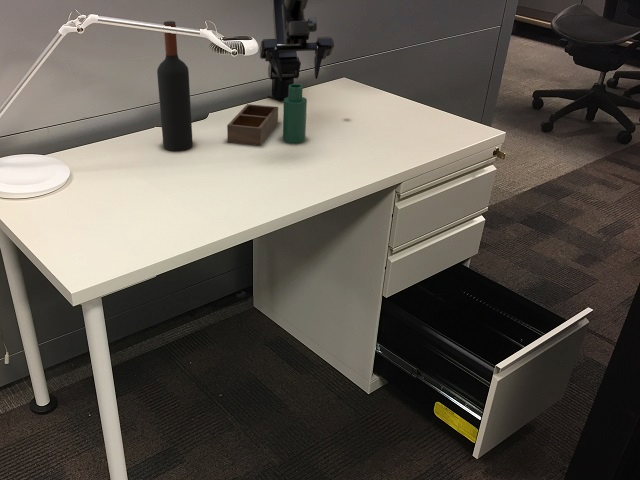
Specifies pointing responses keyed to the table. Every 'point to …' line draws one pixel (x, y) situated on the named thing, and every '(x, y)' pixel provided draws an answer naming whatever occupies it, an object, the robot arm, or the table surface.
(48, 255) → the table surface
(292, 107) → the bottle
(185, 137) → the wine bottle
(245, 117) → the carrier
